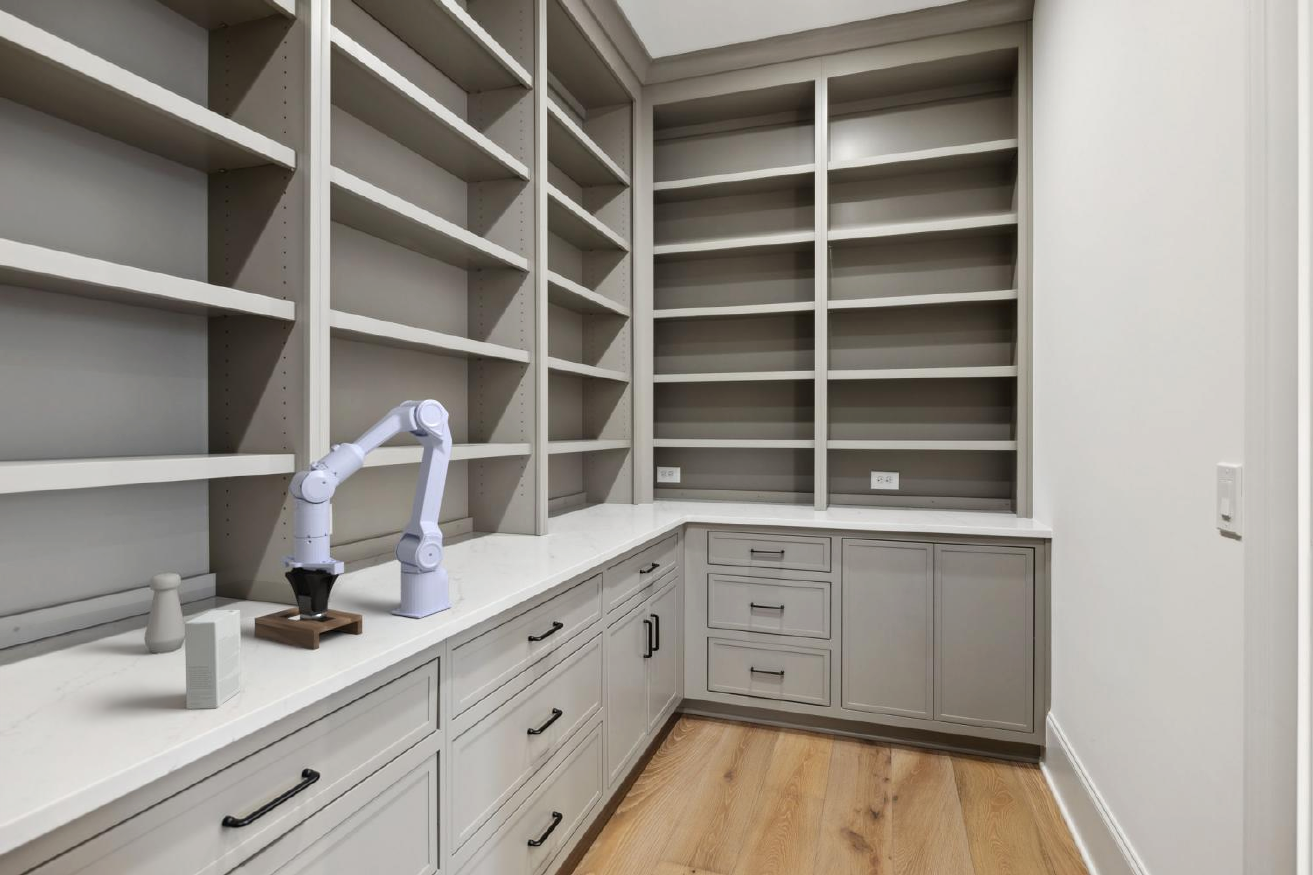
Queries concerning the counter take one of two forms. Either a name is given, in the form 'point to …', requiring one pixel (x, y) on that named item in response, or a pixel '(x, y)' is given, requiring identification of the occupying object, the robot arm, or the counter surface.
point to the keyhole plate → (304, 627)
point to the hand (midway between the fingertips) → (312, 609)
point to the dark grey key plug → (309, 609)
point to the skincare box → (212, 658)
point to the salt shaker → (165, 615)
